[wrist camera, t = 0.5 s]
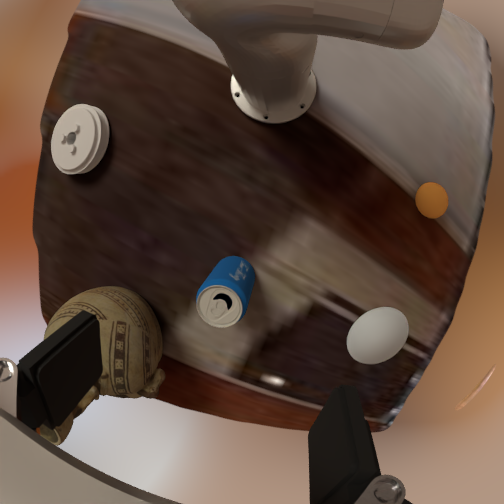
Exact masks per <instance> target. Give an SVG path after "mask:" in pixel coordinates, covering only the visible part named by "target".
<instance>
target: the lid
mask: <svg viewBox="0 0 504 504" xmlns="http://www.w3.org/2000/svg"><path fill="white" fill-rule="evenodd" d="M108 141H109V124H108V120H107V118H106V116H105V114H104V113H103V112H102V111H101V110H100V109H98V108H96V107H93V106H89V105H86V104H78V105H75V106H73V107H71V108H69V109H68V110H67V111H66V112H65V113H64V114H63V115H62V116H61V118H60V119H59V121H58V122H57V124H56V126H55V129H54V132H53V136H52V142H51V152H52V157H53V160H54V162H55V164H56V166H57V167H58V169H59V170H61V171H62V172H64V173H66V174H82V173H86V172H89V171H90V170H92V169H93V168H94V167H95V166H96V165H97V164H98V163H99V162H100V161H101V159H102V157H103V156H104V154H105V151H106V149H107V146H108Z"/></svg>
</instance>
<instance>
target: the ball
mask: <svg viewBox="0 0 504 504" xmlns="http://www.w3.org/2000/svg"><path fill="white" fill-rule="evenodd" d="M415 201H416V206H417V208H418V210H419V211H420V213H421V214H423V215H424V216H426V217H428V218H438V217H440V216H442V215H443V214H444V213H445V211H446V210H447V207H448V196H447V193H446V191H445V190H444V188H443V187H442V186H441V185H439V184H437V183H434V182H428V183H425V184H423V185H422V186H420V188H419V189H418V191H417V193H416V198H415Z"/></svg>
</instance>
